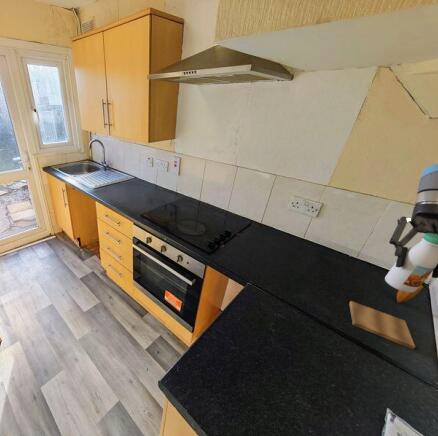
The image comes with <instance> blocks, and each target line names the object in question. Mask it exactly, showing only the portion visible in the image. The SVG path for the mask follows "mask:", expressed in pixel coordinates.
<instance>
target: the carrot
mask: <svg viewBox="0 0 438 436" xmlns="http://www.w3.org/2000/svg"><path fill="white" fill-rule="evenodd" d="M427 279H428V277H427V278H426V280H427ZM426 280H425V281H424V282H423V284H426V283H427V281H426ZM423 284H421V285H420V287H419V288H418V289H417V290H416V291H415V292H412V293H408V292H403V291H400V290H398V291H397V294H396V301H397V303H399V304H402V303H405V302H407V301H410V300H411V299H412V298H414V297H415V296H416V295H418V294H419V293H420V291H421V290H422V289H424V286H423Z"/></svg>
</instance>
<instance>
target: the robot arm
mask: <svg viewBox="0 0 438 436" xmlns="http://www.w3.org/2000/svg"><path fill="white" fill-rule="evenodd" d="M407 224H410V225H411V227H412V228H411V229H410V230H409V231H408V233H407V234H405V235H404V237H402V238H401V236H402V234H403V232H404V230H405V228H406V226H407ZM418 233H419V234H424V235H425V234H426V233H433V234H437V235H438V163H434V164H431V165H428V166H426V167H425V168H424V169H423V170H422V172H421V175H420V179H419V182H418V188H417V193H416V197H415V200H414V207H413V210H412V213H411V217H406V216H405V215H404V216H401V217H400V218H397V225H396V227H395V229H394V232H393V233H392V234H391V237H390V239H389V242H388V244H390V245H393V246H394V249H395V250H394V256H395V257H397V259H396V261H397V262H396V261H395V263H396V267H398V268H399V267H403V266H404V262H405V258H406V254H407V249H408V248H409V247H407V246H406V245H407V244H409V242H410V241H411V240H412V239H413V238H414V237H415V236H416V235H417V234H418ZM400 238H401V239H400ZM431 278H432V279H438V264H437V266H436V267H435V268H434V270H433V271H432V272H431Z"/></svg>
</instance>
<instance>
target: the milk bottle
mask: <svg viewBox="0 0 438 436" xmlns="http://www.w3.org/2000/svg"><path fill="white" fill-rule="evenodd" d="M396 262H397V260H396V261H395V262H394V264H393V266H392V267H391V268H390V269H389V271H388V272H387V274H386V275H385V277H384V281H385V282H386V283H387V284H388V285H389V286H391V287H392V288H394V289H396V290H398V291H399V290H400V291H403V292H408V293H412V292H415V291H416V290H417V289H418V288H419V287H420V285H423V284H424V281H426V280H427V279H426V278H428V277H429V276H430V275H432V273H433V270H434V268H435V267H436V266H437V264H438V235H437V234H433V233H426V234H425V233H424V235H423V236H422V238H421V240H420V241H419V242H418V243H417V244H415V245H413V246H411V247H408V249H407V254H406V258H405V262H404V266H403V267H399V268H398V267H396Z"/></svg>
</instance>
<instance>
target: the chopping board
mask: <svg viewBox="0 0 438 436" xmlns="http://www.w3.org/2000/svg"><path fill="white" fill-rule="evenodd" d="M348 304H349V305H348V306H349V311H350V316H351V323H352V326H354V327H357V328H359V329H361V330H364V331H367V332H369V333H372V334H373V335H376V336H379V337H382V338H384V339H387V340H388V341H391V342H393V343H396V344H398V345H401V346H403V347H406V348H408V349H411V350H414V349H416V345H415V342H414V339H413V338H412V334H411V331H410V330H409V327H408V325H407V322H406V320H404V319H401V318H399V317H396V316H393V315H391V314H388V313H386V312H382V311H380V310H377V309H374V308H372V307H369V306H366V305H363V304H361V303H358V302H355V301H352V300H350V301H349V303H348Z"/></svg>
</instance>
